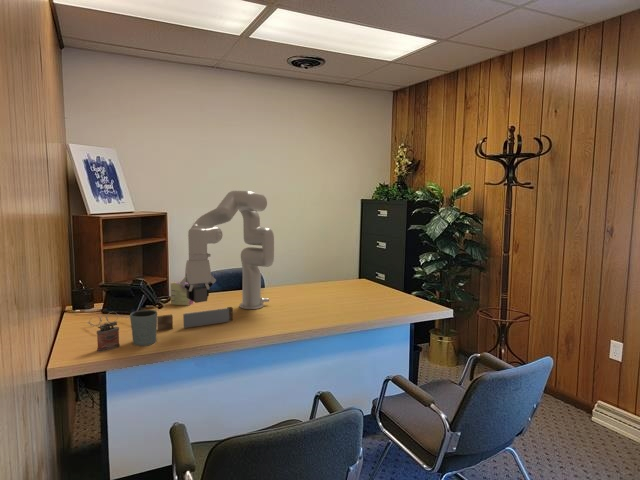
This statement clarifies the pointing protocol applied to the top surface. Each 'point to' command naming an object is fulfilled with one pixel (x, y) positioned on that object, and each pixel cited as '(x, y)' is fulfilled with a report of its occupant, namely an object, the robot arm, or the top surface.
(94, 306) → the top surface
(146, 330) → the grey-green cup
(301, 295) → the top surface
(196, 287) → the dark boxy piece
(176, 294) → the box
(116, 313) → the eyeglasses
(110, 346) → the lighter
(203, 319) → the blue-grey long block
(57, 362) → the top surface
